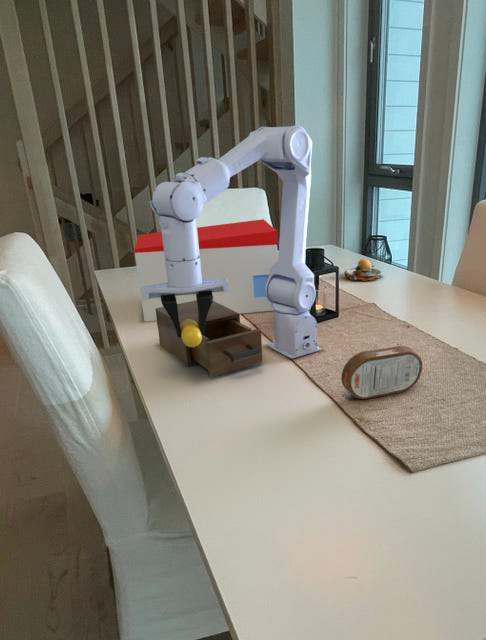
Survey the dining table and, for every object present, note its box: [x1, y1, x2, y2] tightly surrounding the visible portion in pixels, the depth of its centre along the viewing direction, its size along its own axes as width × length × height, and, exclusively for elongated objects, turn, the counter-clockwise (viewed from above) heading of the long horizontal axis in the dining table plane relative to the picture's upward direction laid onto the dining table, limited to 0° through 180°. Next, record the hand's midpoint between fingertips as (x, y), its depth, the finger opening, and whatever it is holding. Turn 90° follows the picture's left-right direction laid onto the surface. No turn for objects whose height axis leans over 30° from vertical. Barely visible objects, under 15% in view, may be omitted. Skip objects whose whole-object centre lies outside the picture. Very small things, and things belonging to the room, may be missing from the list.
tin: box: [340, 345, 423, 400], centre depth 89 cm, size 15×3×8 cm, turn 111°
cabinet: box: [155, 300, 241, 367], centre depth 110 cm, size 15×13×9 cm
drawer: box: [190, 319, 264, 378], centre depth 101 cm, size 18×11×7 cm, turn 37°
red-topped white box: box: [133, 218, 279, 323], centre depth 138 cm, size 21×35×21 cm, turn 104°
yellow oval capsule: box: [180, 319, 202, 347], centre depth 91 cm, size 9×3×3 cm, turn 17°
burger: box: [343, 256, 382, 282], centre depth 166 cm, size 12×12×8 cm
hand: (190, 334), depth 91 cm, fingers closed on yellow oval capsule, 3 cm apart
